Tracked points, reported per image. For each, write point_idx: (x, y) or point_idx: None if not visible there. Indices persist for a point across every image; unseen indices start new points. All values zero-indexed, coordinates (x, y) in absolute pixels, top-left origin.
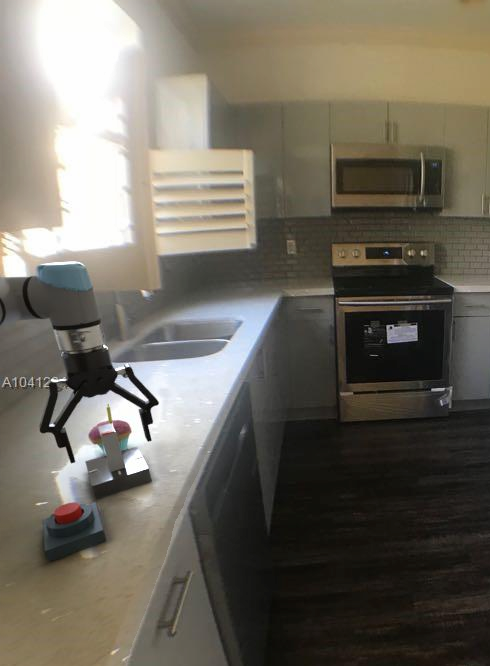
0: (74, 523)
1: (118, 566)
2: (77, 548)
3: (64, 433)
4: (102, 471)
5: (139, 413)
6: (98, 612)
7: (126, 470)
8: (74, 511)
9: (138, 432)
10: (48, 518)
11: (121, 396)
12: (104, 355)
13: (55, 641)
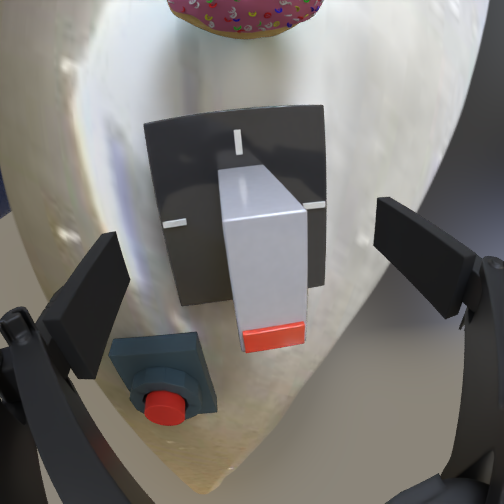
0: None
1: (232, 427)
2: None
3: (89, 374)
4: (203, 238)
5: (447, 248)
6: (216, 452)
7: None
8: (179, 423)
9: None
10: (131, 396)
11: (456, 431)
12: None
13: (187, 458)
